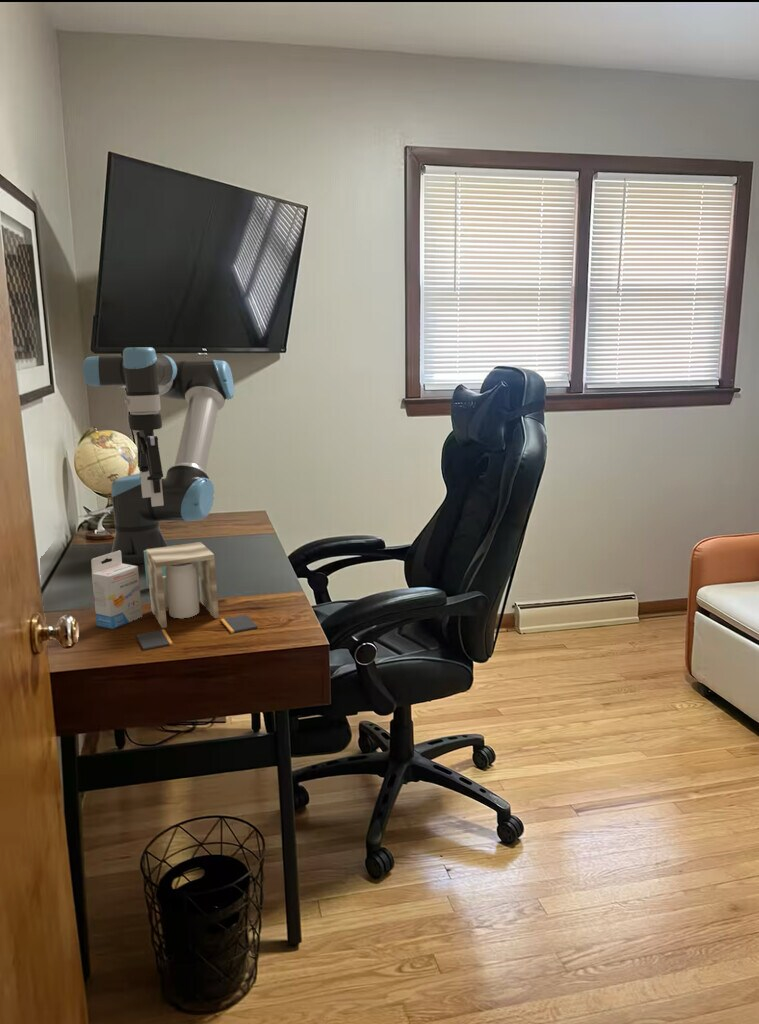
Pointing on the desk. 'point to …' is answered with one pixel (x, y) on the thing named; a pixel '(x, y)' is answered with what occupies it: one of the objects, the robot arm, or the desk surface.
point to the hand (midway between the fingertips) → (152, 501)
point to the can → (182, 590)
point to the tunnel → (174, 557)
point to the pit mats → (163, 639)
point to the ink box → (115, 591)
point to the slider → (163, 579)
